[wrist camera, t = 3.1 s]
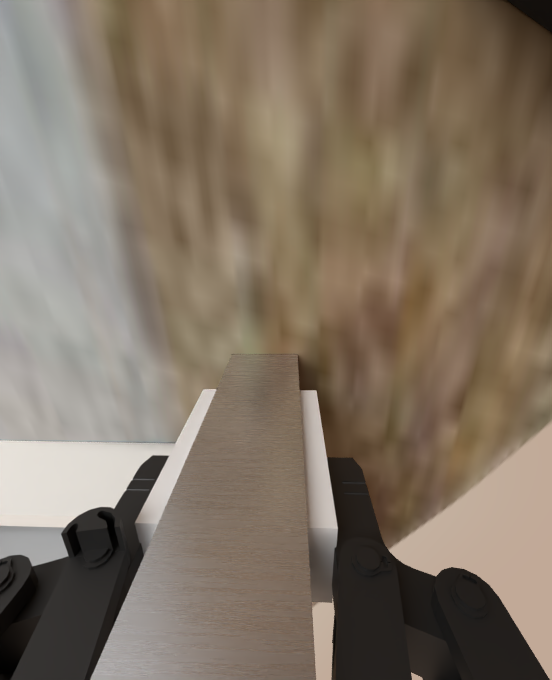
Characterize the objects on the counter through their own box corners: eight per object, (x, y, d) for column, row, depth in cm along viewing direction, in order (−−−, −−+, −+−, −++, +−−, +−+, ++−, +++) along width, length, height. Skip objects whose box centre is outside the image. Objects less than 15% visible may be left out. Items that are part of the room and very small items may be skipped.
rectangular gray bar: (231, 354, 16) (-356, 1700, 1) (297, 354, 16) (382, 1845, 1) (235, 410, 18) (-68, 1472, 3) (296, 411, 18) (337, 1535, 3)
